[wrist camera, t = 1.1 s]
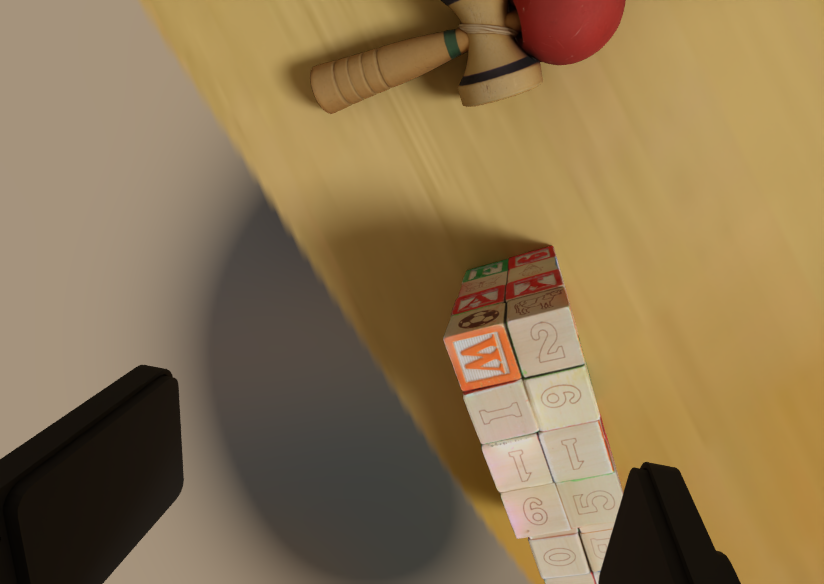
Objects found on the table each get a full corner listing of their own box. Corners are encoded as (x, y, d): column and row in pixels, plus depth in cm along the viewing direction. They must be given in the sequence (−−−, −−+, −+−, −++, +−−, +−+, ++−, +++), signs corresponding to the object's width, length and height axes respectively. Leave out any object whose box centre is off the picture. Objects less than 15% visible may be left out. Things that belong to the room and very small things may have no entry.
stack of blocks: (626, 502, 41) (670, 656, 29) (545, 514, 42) (557, 664, 31) (552, 242, 35) (571, 305, 24) (463, 268, 37) (440, 338, 26)
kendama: (361, 158, 37) (637, 73, 30) (314, 151, 31) (642, 44, 24) (335, 46, 36) (611, -67, 30) (282, 18, 31) (610, -131, 24)
